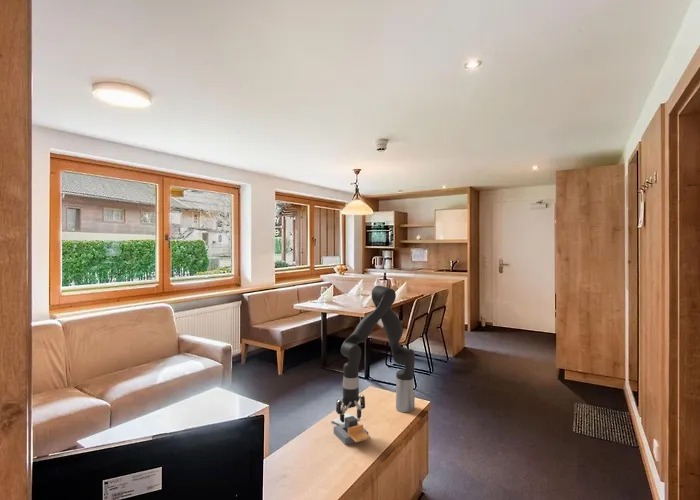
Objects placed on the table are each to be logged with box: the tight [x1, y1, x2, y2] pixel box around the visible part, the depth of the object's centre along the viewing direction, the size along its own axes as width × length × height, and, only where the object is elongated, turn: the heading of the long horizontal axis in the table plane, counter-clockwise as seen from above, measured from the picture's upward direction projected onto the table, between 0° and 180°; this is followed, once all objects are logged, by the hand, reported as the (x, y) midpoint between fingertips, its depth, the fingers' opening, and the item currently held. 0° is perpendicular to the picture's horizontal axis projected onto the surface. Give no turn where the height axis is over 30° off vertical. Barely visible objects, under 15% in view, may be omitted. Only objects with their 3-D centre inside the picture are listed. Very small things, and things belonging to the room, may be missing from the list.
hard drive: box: [330, 412, 360, 426], centre depth 188 cm, size 2×8×12 cm
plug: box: [345, 415, 359, 433], centre depth 173 cm, size 4×4×8 cm
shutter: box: [348, 423, 371, 443], centre depth 166 cm, size 8×8×3 cm
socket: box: [333, 422, 369, 446], centre depth 173 cm, size 12×12×3 cm
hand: (350, 419), depth 173 cm, fingers open, 8 cm apart
